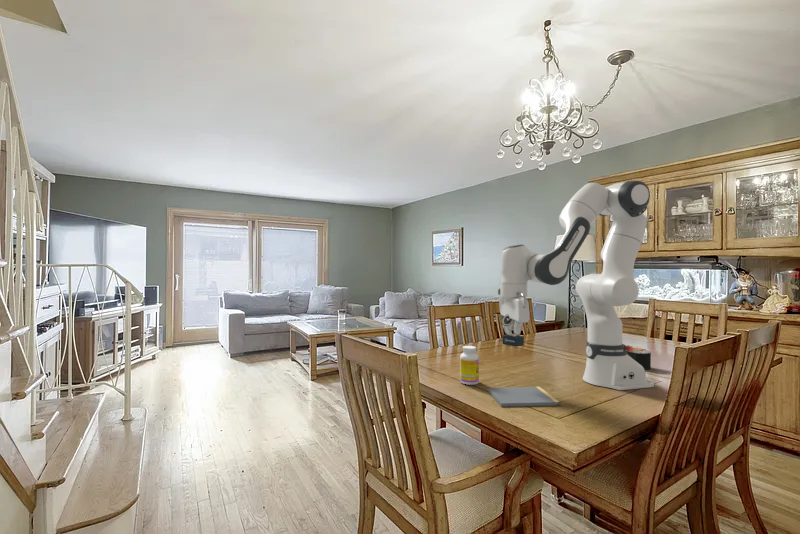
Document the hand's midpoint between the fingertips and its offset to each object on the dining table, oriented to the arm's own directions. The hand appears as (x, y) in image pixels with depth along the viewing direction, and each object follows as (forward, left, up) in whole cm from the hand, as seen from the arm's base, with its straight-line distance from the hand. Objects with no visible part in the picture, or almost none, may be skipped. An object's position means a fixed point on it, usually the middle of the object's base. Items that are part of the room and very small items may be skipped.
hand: (513, 331), depth 129 cm
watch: (0, 0, -5) cm, 5 cm away
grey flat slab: (+1, +10, -19) cm, 22 cm away
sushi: (-60, -21, -20) cm, 66 cm away
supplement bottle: (+14, -6, -20) cm, 25 cm away
